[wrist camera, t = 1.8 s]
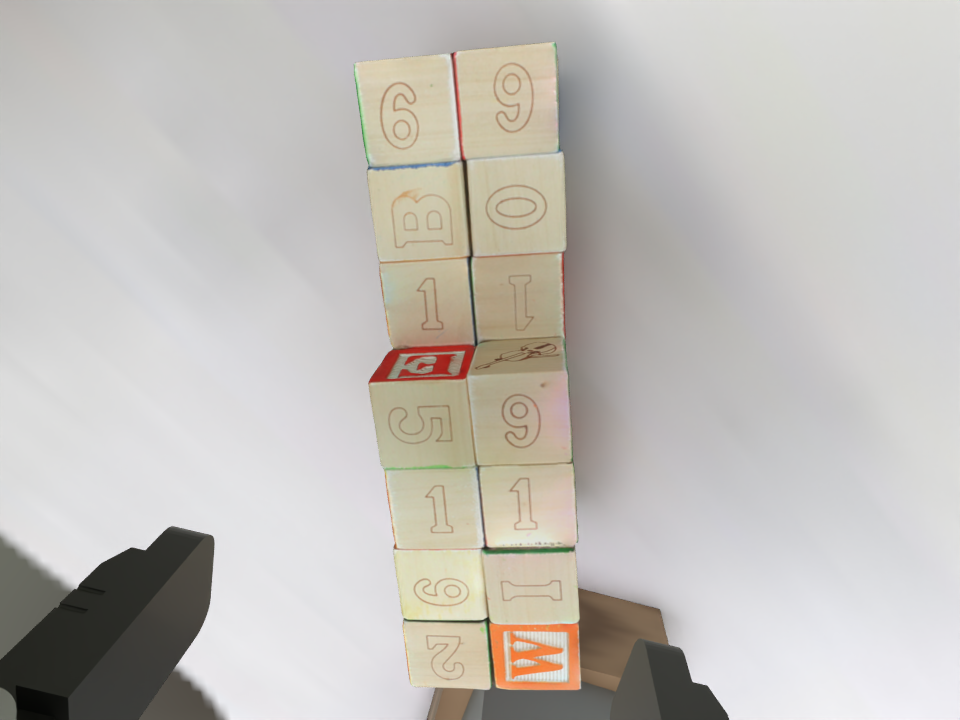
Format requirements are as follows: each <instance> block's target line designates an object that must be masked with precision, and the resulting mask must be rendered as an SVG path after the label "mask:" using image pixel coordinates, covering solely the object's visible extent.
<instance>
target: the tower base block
mask: <svg viewBox="0 0 960 720" xmlns="http://www.w3.org/2000/svg"><path fill="white" fill-rule="evenodd" d="M578 599H579V615H580V619H579V621H578V624H579V648H580V673H581V681H583V682H586V683H589V684H593V685H596V686H599V687H602V688H605V689H609V690H612V691H615V692H616V690H617V687H618V685H619V682H620V680H621V677H622V674H623V672H624V669H625V667H626V664H627V662H628V659H629V656H630V654H631V651H632V649H633V646H634V644H635V642H636V641H637V640H638V639H645V640H649V641H653V642H658V643H662V644H666V645H669V644H668V640H667V636H666V632H665V628H664V624H663V620H662V616H661V612H660V609H657V608H653V607H649V606H645V605H641V604H637V603H633V602H630V601H626V600H622V599H618V598H614V597H610V596H606V595H602V594H599V593H595V592H591V591H587V590H583V589H579V588H578ZM473 690H474V689H468V688H439V687H436V688H435V692H434V695H433V699H432V702H431V706H430V710H429V713H428V717H427V720H462V717H463V715H464V712H465V710H466V707H467V705H468V702H469V700H470V697H471V695H472V692H473Z"/></svg>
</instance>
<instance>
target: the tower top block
mask: <svg viewBox="0 0 960 720" xmlns="http://www.w3.org/2000/svg"><path fill="white" fill-rule="evenodd" d="M615 693H616V692H615V691H612V690H609V689H605V688H602V687H599V686H596V685H593V684H589V683H586V682H583V681H581V688H580V689H578V690H507V689H500V688H497V687H496V686H495V684H494V685H492V687H491V688H490V689H489V690H483V689H474V690H473V692H472V695H471V697H470V700H469V702H468V705H467V707H466V710H465V712H464V715H463V717H462V720H610V712H611V706H612V701H613V698H614V695H615Z"/></svg>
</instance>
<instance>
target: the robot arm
mask: <svg viewBox="0 0 960 720" xmlns="http://www.w3.org/2000/svg"><path fill="white" fill-rule="evenodd" d="M213 558H214V538H213V536H211V535H208V534H204V533H200V532H195V531H191V530H187V529H183V528H178V527H174V526H171V527H169V528H167V529H166V530H165V531H164V532H163V533H162V534H161V535H160V536H159V537H158V538H157V539H156V540H155V541H154V542H153V543H152V544H151V545H150V546H149V547H148V548H147V549H146V550H141V549H136V548H130V549H128V550H126V551H124V552H122V553H120V554H118V555H116V556H114V557H112V558H111V559H109V560H107V561H105V562H103V563H101V564H100V565H99V566H98V567H97V568H96V569H95V570H94V571H93V572H92V573H91V574H90V575H89V576H88V577H87V578H85V579H84V580H83V581H82V582H81V583H80V584H79V587H78V589H77V590H76V589H74V590H73V591H72V592H71V593H70V594H69V595H68V596H67V597H66V598H65V599H64V600H63V601H61V602H60V605H59V607H58V608H54V609H53V610H52V611H51V612H50V613H49V614H48V615H47V616H46V617H45V618H44V619H43V620H42V621H41V622H40V623H39V624H38V625H36V626H35V627H34V628H33V629H32V630H31V631H30V632H29V633H28V634H27V635H26V636H25V637H24V638H23V639H22V640H21V641H20V642H19V643H18V644H17V645H16V646H14V647H13V649H11V650H10V651H9V652H8V653H7V654H6V655H5V656H4V657H3V658H2V659H1V660H0V720H139V718H140V717H141V715H142V714H143V712H144V711H145V710H146V708H147V706H148V705H149V703H150V702H151V701H152V699H153V698H154V696H155V695H156V694H157V692H158V691H159V689H160V688H161V686H162V685H163V684H164V682H165V681H166V679H167V678H168V676H169V675H170V674H171V672H172V671H173V669H174V668H175V666H176V665H177V664H178V662H179V661H180V659H181V658H182V656H183V655H184V653H185V652H186V651H187V649H188V648H189V646H190V645H191V643H192V642H193V641H194V639H195V638H196V636H197V635H198V633H199V631H200V629H201V627H202V625H203V623H204V621H205V618H206V615H207V612H208V609H209V605H210V598H211V585H212V572H213ZM610 720H729V718H728V715H727V713H726V712H725V710H724V709H723V707H722V706H721V704H720V703H719V702H718V700H717V699H716V697H715V696H714V695H713V693H712V692H711V690H710V689H709V687H708V686H706V685H702V684H698V683H694V682H692V680H691V676H690V673H689V669H688V666H687V662H686V659H685V656H684V653H683V651H682V650H681V649H680V648H679V647H674V646H670V645H666V644H662V643H658V642H653V641H649V640H645V639H638V640H637V641H636V642H635V644H634V646H633V649H632V651H631V654H630V656H629V659H628V662H627V664H626V667H625V669H624V672H623V674H622V677H621V680H620V682H619V685H618V687H617V690H616V693H615V695H614V698H613V701H612V706H611V712H610Z"/></svg>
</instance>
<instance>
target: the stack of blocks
mask: <svg viewBox="0 0 960 720" xmlns="http://www.w3.org/2000/svg"><path fill="white" fill-rule="evenodd" d="M354 76H355V82H356V89H357V96H358V104H359V110H360V117H361V125H362V134H363V140H364V146H365V152H366V158H367V161H368V164H369V167H368V169H367V180H368V187H369V194H370V202H371V210H372V217H373V223H374V230H375V237H376V245H377V253H378V258H379V261H380V266H379V270H380V279H381V287H382V294H383V301H384V307H385V313H386V320H387V327H388V334H389V338H390V342H391V345H392V347H393V350H392V351H390V352H388V354H387V355H386V356H385V358H384V360H383V361H382V363H381V364H380V365H379V367H378V368H377V370H376V371H375V373H374V374H373V376H372V377H371V378H370V381H369V383H368V385H369V392H370V398H371V404H372V410H373V417H374V423H375V429H376V436H377V442H378V449H379V455H380V462H381V466H382V467H383V469H384V471H385V479H386V488H387V495H388V501H389V508H390V513H391V520H392V528H393V534H394V540H395V545H394V549H393V553H394V561H395V568H396V575H397V582H398V588H399V595H400V603H401V610H402V615H403V617H404V620H403V632H404V640H405V648H406V656H407V664H408V671H409V679H410V683H411V685H412V686H414V687H439V688H468V689H483V690H489V689H490V688H491V687H492V685H494V684H495V686H496V687H497V688H500V689H507V690H578V689H580V688H581V673H580V648H579V624H578V621H579V619H580V615H579V599H578V582H577V566H576V552H575V544H576V543H577V542H578V524H577V507H576V488H575V472H574V464H573V450H572V424H571V414H570V395H569V373H568V367H567V356H566V344H565V338H566V333H565V302H564V262H563V256H564V251H565V250H566V248H567V242H566V194H565V163H564V153H563V152H562V150H561V149H560V146H559V92H558V56H557V46H556V43H555V42H548V43H537V44H526V45H516V46H506V47H496V48H483V49H474V50H463V51H457V52H454V53H451V54H439V55H426V56H415V57H405V58H396V59H384V60H376V61H364V62H356V63H355V64H354Z"/></svg>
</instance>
